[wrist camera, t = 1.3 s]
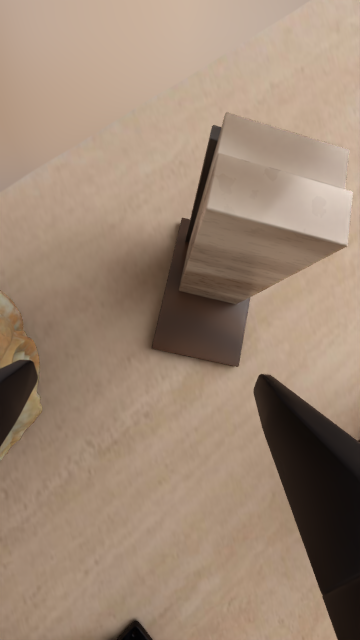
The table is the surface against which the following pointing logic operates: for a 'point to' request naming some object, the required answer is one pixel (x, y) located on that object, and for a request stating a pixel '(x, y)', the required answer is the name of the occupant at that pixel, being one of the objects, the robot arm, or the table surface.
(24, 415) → the sculpture
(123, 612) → the table surface
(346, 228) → the white book shelf
